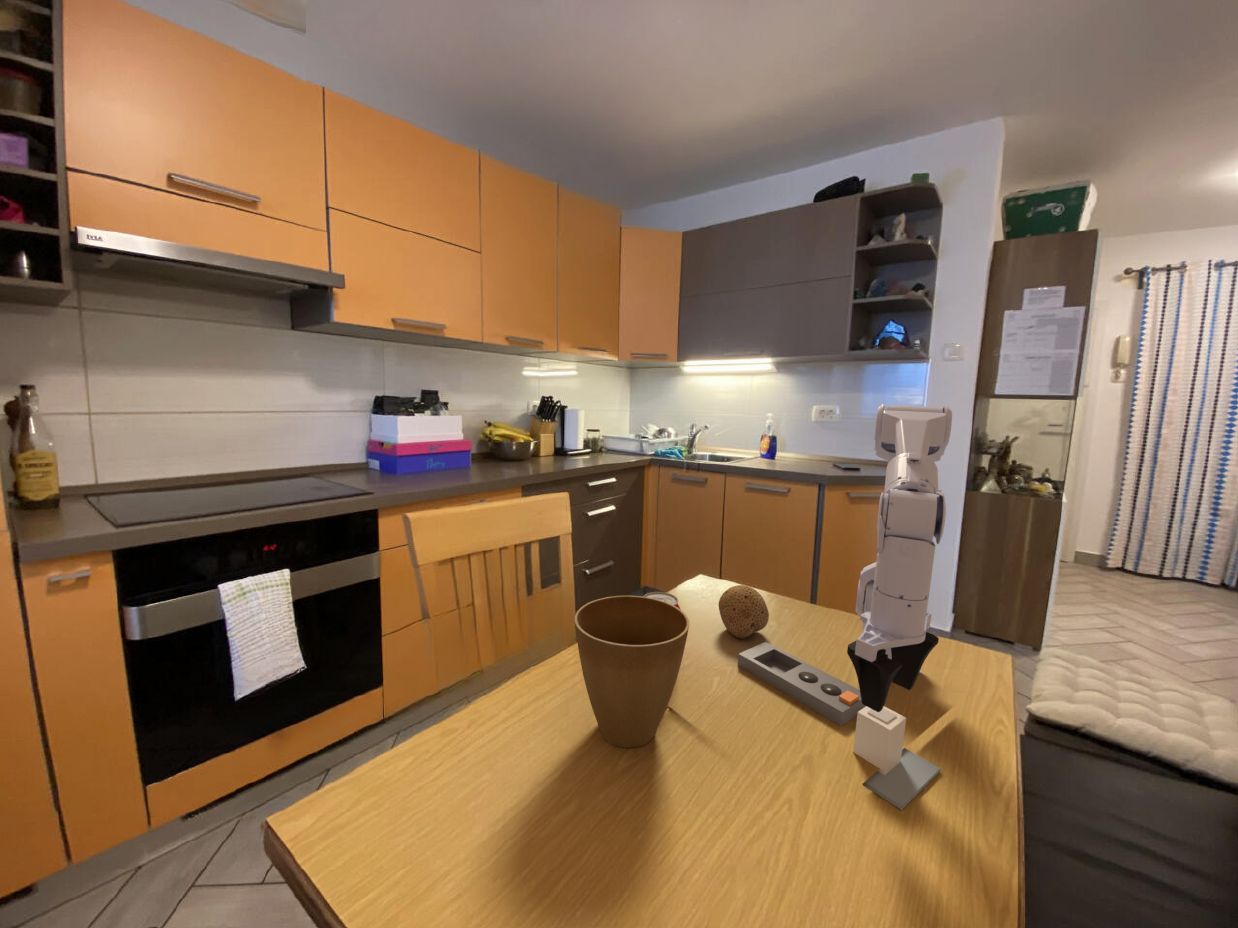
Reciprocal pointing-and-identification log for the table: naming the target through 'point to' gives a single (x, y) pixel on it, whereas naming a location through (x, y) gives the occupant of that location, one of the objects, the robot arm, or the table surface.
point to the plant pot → (630, 663)
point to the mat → (903, 779)
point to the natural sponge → (743, 611)
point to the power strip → (803, 682)
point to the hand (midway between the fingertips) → (887, 695)
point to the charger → (879, 737)
